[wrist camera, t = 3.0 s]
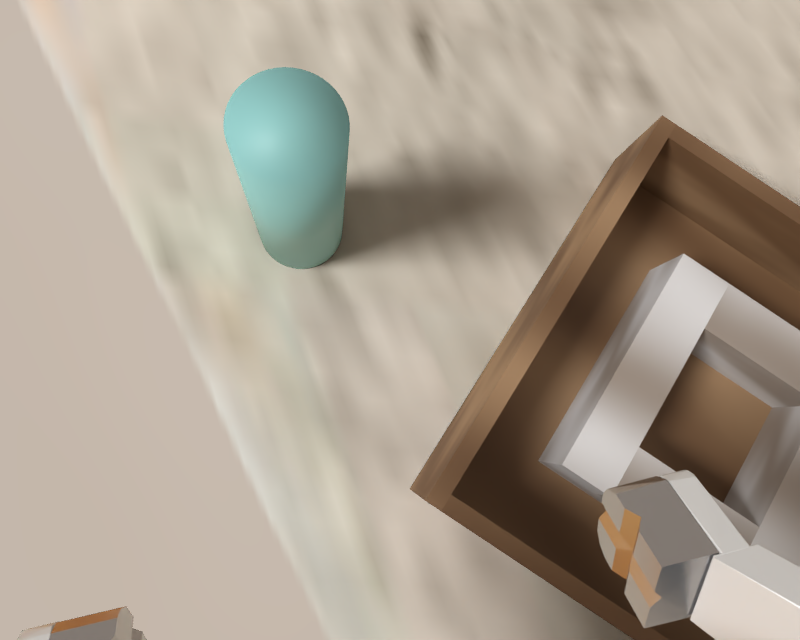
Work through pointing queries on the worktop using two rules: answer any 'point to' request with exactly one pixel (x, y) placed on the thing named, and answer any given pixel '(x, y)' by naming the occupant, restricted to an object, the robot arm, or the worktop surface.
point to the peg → (291, 161)
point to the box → (640, 374)
